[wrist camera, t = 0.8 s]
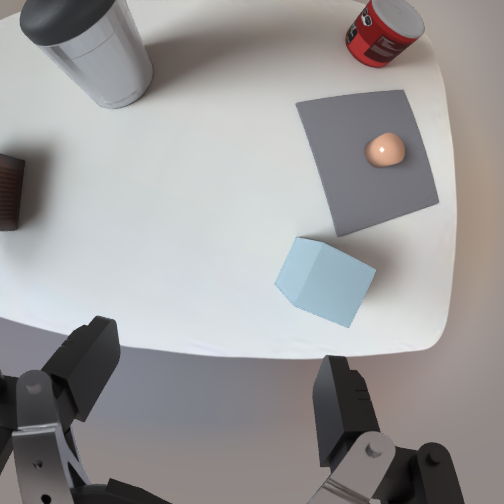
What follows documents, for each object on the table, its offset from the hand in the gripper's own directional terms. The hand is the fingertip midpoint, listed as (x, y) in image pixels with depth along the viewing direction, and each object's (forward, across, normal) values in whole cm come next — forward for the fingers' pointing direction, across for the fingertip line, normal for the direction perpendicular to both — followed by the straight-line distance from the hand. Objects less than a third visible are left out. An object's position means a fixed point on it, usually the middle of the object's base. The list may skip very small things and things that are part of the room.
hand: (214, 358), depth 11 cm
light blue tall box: (+26, -8, +7) cm, 28 cm away
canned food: (+37, -14, -26) cm, 47 cm away
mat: (+32, -15, -9) cm, 36 cm away
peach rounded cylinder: (+31, -15, -9) cm, 36 cm away
